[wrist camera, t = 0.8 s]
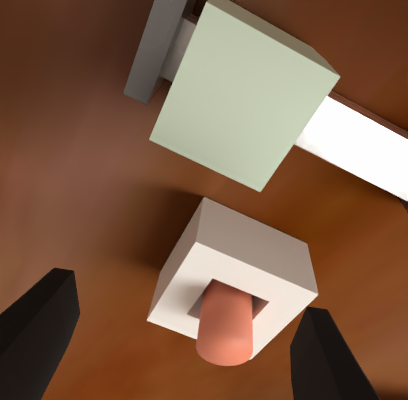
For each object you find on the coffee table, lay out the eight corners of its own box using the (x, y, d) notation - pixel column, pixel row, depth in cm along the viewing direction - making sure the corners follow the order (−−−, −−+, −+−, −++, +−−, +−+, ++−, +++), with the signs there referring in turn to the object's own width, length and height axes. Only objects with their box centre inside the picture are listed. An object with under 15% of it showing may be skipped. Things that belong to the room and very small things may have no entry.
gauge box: (306, 243, 21) (318, 294, 18) (249, 307, 25) (250, 359, 21) (204, 196, 20) (195, 241, 17) (160, 271, 24) (146, 320, 20)
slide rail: (476, 149, 17) (524, 186, 14) (414, 208, 19) (445, 250, 16) (177, -19, 14) (159, -16, 11) (144, 71, 16) (123, 93, 13)
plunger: (260, 278, 20) (263, 344, 16) (237, 305, 21) (235, 371, 18) (217, 259, 20) (211, 324, 16) (197, 289, 21) (187, 353, 17)
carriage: (313, 46, 15) (340, 76, 11) (256, 138, 17) (260, 192, 13) (218, -8, 14) (206, 1, 10) (173, 97, 17) (149, 139, 12)
